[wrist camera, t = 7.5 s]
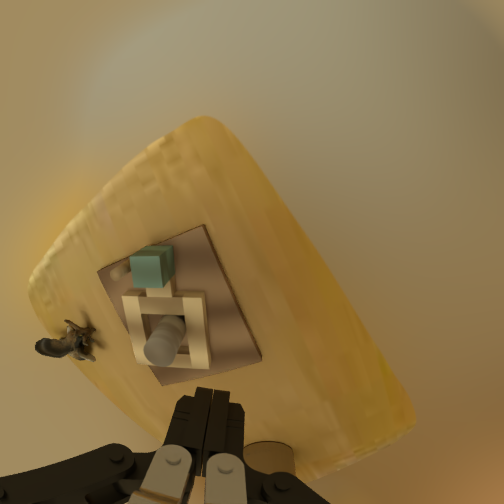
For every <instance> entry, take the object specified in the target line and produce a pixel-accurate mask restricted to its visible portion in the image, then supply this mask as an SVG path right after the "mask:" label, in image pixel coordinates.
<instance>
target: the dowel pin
mask: <svg viewBox="0 0 504 504" xmlns="http://www.w3.org/2000/svg"><path fill="white" fill-rule="evenodd" d="M130 271H131V265H130V259H128V260H126V261H125V262H123V263H122V264H120V265H119V266H117V267H116V268H114V269H113V270H111V272H110V277H111V278H112V280H114V281H118V280H120V279H121V278H122V277H124V276H125V275H126V274H128V273H129V272H130Z"/></svg>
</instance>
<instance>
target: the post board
mask: <svg viewBox="0 0 504 504" xmlns="http://www.w3.org/2000/svg"><path fill="white" fill-rule="evenodd" d="M164 245H173V253H174V264H175V282H176V291H205V302H206V314H207V324H208V334H209V343H210V352H211V364H210V369H192V368H176V367H166V366H169V365H171V364H172V363H173V361H174V359H175V356H176V354H177V352H178V349H179V347H180V346H189V344H188V338H187V331H186V323H185V316H184V315H162V314H148V319H149V325H150V330H151V336H150V337H149V339H148V341H147V342H146V344H145V345H144V349H143V351H144V355H145V357H146V358H147V360H148V361H149V362H151V363H152V364H154V365H156V366H153V365H148V366H149V367H150V369H151V370H152V372H153V373H154V375H155V376H156V378H157V379H158V381H159V382H160V384H161V385H162V386H164V385H169V384H174V383H179V382H184V381H188V380H193V379H197V378H202V377H206V376H210V375H214V374H218V373H222V372H226V371H229V370H233V369H237V368H240V367H244V366H247V365H251V364H254V363H258V362H261V361H262V355H261V353H260V351H259V349H258V347H257V344H256V342H255V340H254V338H253V336H252V334H251V331H250V329H249V327H248V325H247V323H246V320H245V318H244V316H243V314H242V311H241V309H240V307H239V305H238V302H237V300H236V298H235V296H234V293H233V291H232V289H231V287H230V284H229V282H228V280H227V277H226V275H225V273H224V270H223V268H222V266H221V264H220V261H219V259H218V256H217V254H216V252H215V249H214V247H213V245H212V242H211V240H210V237H209V235H208V233H207V230H206V228H205V225H201V226H199V227H196V228H194V229H191V230H189V231H187V232H184V233H182V234H179V235H177V236H175V237H172V238H170V239H168V240H165V241H163V242H161V243H158V244H156V245H154V246H164ZM128 259H130V258H129V257H126V258H124V259H122V260H120V261H118V262H115V263H113V264H111V265H109V266H107V267H105V268H102V269H101V270H99V271H97V273H98V276H99V278H100V280H101V282H102V284H103V286H104V288H105V290H106V292H107V294H108V296H109V298H110V300H111V302H112V304H113V306H114V308H115V310H116V312H117V313H118V315H119V317H120V319H121V321H122V323H123V324H124V326H125V328H126V330H127V331H128V333H129V330H128V325H127V321H126V316H125V311H124V306H123V301H122V295H123V294H124V293H125V292H126V291H127V290H146V288H134V286H133V280H132V273H131V271H130V272H129V273H128V274H126V275H125V276H124V277H122V278H121V279H120V280H118V281H114V280H112V278H111V277H110V272H111V270H113V269H114V268H116V267H117V266H119V265H120V264H122V263H123V262H125V261H126V260H128ZM129 335H130V334H129Z"/></svg>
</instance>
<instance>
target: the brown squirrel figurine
mask: <svg viewBox="0 0 504 504" xmlns="http://www.w3.org/2000/svg"><path fill="white" fill-rule="evenodd" d="M64 322H66V323H68V324H69V325H68V326H67V336H66V338H64V339H60V340H57V339H49V338H43V339H41V340H39V341H38V342H36V345H35V350H36V351H37V352H38V353H40V354H42V355H45V356H50V357H56V358H61V357H64V356H65V355H67V354H69V355H70V356H72V357H73V358H75V359H77V360H85V359H87V360H89V361H92V362H94V361H96V359H95V357H94V356H93V355H91V354H89V353H87V352H85V350H84V345H86V346H88V344H87V343H86V341H87V339H88V338H89V339H90V341H92V342H94V339H92V338H91V336H90V334H91V333H92V332H94V331H95V330H96V329H95V328H93V329H90V328H80V327H79V326H77V325H76V324H74V323H73V322H71V321H70V320H64ZM72 327H74V329H75V332H74V330H73V328H72Z"/></svg>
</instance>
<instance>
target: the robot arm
mask: <svg viewBox="0 0 504 504" xmlns="http://www.w3.org/2000/svg"><path fill="white" fill-rule="evenodd" d="M212 395H213V399H212ZM229 396H230V392H229V391H222V390H215V389H214V393H213V389H208V388H202V387H197V388H196V392H195V396H194V397H191V396H186V395H184V396H183V397H182V398H181V399H180V400H178V401H177V404H176V407H175V410H174V413H173V416H172V419H171V422H170V426H169V429H168V432H167V435H166V438H165V441H164V444H163V445H162V447H161V448H159V449H158V450H156V451H154V452H150V453H132V451H131V450H130V449H129V448H128V447H126V446H124V445H121V444H116V443H112V444H108V445H105V446H103V447H100V448H98V449H95V450H92V451H90V452H87V453H84V454H82V455H79V456H76V457H73V458H70V459H67V460H64V461H61V462H58V463H55V464H52V465H48V466H45V467H41V468H38V469H34V470H30V471H27V472H23V473H18V474H14V475H9V476H5V477H0V504H124V503H126V502H128V504H188V502H189V499H190V495H191V492H192V488H193V485H194V479H195V476H201V470H202V477H206V480H205V495H204V504H330V503H329V502H327V501H326V500H325V499H323V498H322V497H321V496H319V495H318V494H317V493H316V492H314V491H313V490H312V489H310V488H309V487H308V486H307V485H305V484H304V483H303V482H302V481H301V480H299V479H298V478H297V477H296V472H295V464H294V456H293V451H292V449H291V448H290V447H289V446H287V445H284V444H281V443H276V442H260V443H255V444H251V445H249V446H246V447H245V448H243V445H244V417H245V412H244V410H243V408H242V406H241V404H238V403H230V402H229ZM202 464H203V468H202Z"/></svg>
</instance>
